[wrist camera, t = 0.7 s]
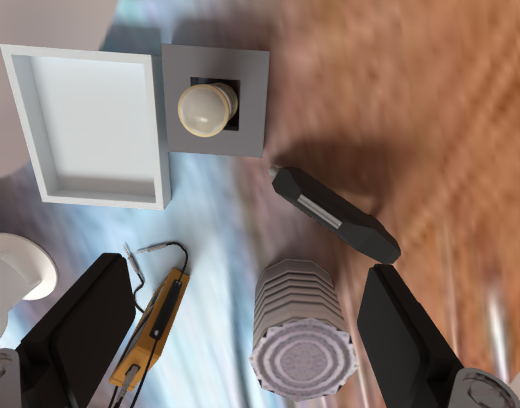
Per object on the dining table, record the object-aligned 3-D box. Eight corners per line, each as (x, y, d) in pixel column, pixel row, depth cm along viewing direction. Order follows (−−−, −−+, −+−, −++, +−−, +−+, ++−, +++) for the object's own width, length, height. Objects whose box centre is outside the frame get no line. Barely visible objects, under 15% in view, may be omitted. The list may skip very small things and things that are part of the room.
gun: (297, 157, 39) (268, 159, 30) (404, 228, 35) (407, 255, 26) (286, 175, 40) (255, 181, 31) (389, 246, 36) (387, 277, 27)
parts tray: (24, 47, 29) (-1, 44, 26) (161, 57, 29) (150, 54, 26) (59, 192, 36) (42, 201, 33) (171, 199, 36) (163, 210, 33)
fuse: (201, 81, 30) (176, 82, 22) (239, 83, 30) (228, 86, 22) (201, 120, 32) (179, 135, 23) (237, 122, 32) (227, 138, 23)
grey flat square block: (170, 46, 29) (160, 43, 26) (269, 53, 29) (269, 51, 26) (176, 145, 33) (168, 151, 30) (262, 151, 33) (262, 157, 30)
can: (243, 305, 43) (235, 384, 32) (273, 245, 38) (276, 313, 27) (312, 327, 44) (327, 410, 33) (348, 273, 40) (379, 347, 29)
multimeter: (139, 219, 37) (16, 358, 19) (205, 257, 39) (151, 414, 21) (96, 290, 42) (-35, 454, 24) (156, 320, 44) (79, 491, 26)
